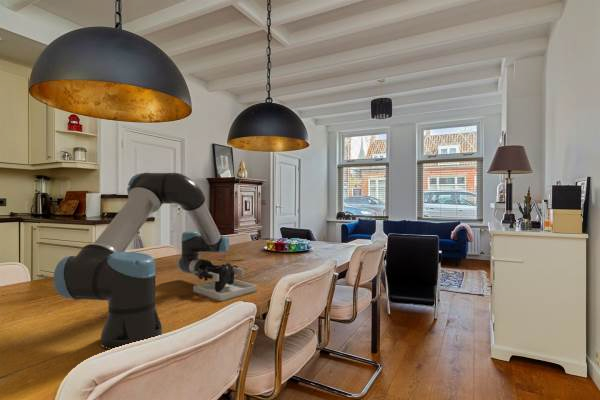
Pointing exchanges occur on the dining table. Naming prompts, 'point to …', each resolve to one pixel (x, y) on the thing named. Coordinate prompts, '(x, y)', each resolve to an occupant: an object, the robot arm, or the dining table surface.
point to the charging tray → (225, 290)
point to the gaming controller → (224, 276)
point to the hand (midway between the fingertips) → (231, 275)
